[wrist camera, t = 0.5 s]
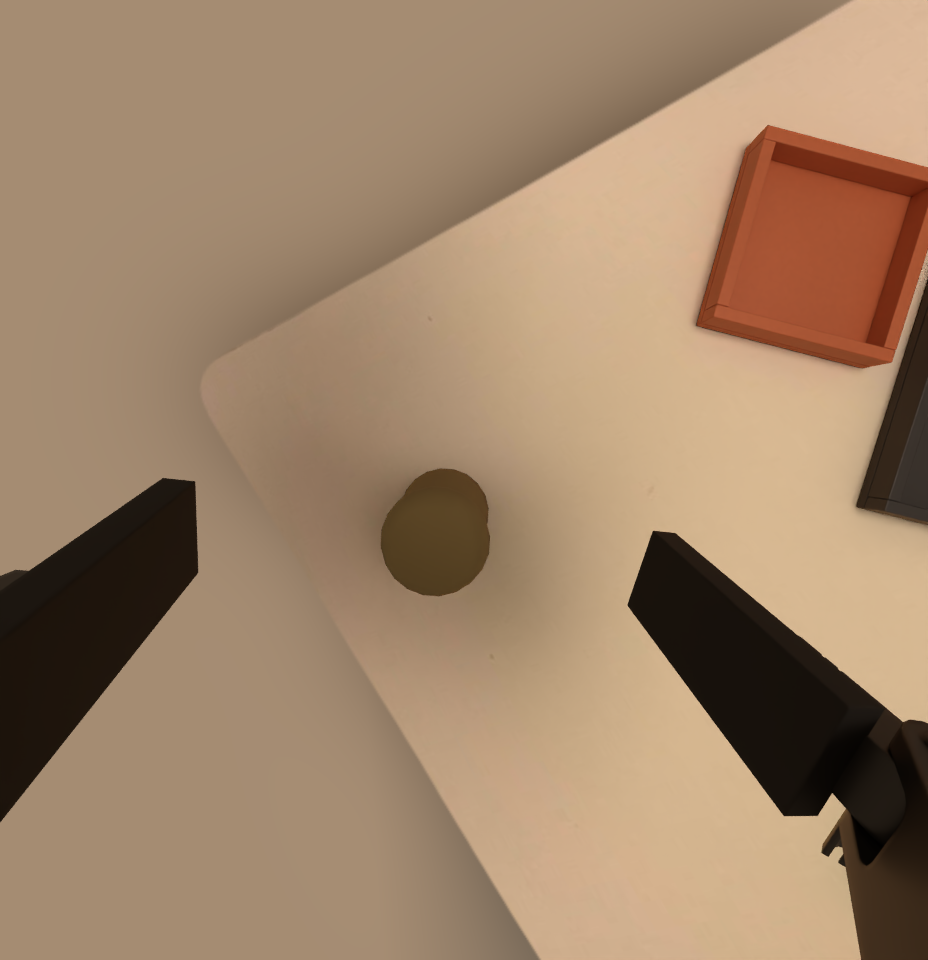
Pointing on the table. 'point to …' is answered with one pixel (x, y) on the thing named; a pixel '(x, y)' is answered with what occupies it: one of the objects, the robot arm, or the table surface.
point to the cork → (437, 533)
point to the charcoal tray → (904, 437)
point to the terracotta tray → (819, 249)
